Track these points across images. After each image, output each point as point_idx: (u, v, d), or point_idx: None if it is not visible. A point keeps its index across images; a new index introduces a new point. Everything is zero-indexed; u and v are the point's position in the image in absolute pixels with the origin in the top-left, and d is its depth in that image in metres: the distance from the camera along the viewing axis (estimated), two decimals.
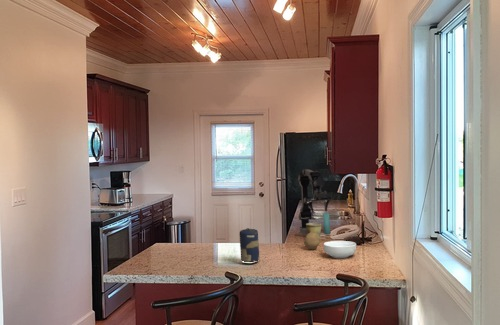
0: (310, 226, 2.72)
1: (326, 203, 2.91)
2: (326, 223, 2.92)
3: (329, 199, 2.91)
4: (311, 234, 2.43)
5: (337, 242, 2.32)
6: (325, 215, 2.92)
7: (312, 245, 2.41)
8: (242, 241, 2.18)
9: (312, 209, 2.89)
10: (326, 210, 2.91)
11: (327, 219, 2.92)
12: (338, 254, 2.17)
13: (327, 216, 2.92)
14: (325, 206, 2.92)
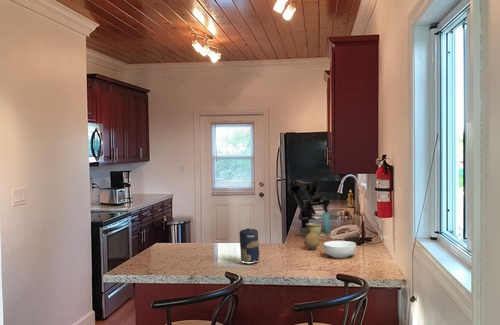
0: (310, 226, 2.72)
1: (325, 205, 3.04)
2: (326, 223, 2.92)
3: (327, 201, 3.05)
4: (311, 234, 2.43)
5: (337, 242, 2.32)
6: (325, 215, 2.92)
7: (312, 245, 2.41)
8: (242, 241, 2.18)
9: None
10: None
11: (327, 219, 2.92)
12: (338, 254, 2.17)
13: (327, 216, 2.92)
14: (325, 208, 3.04)
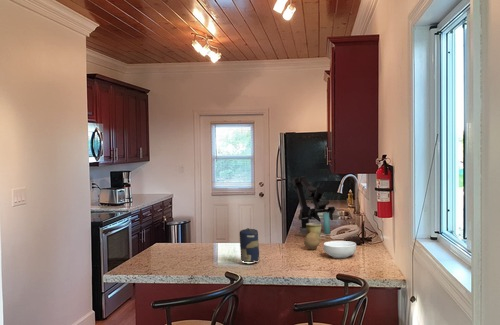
0: (310, 226, 2.72)
1: (330, 212, 2.98)
2: (326, 223, 2.92)
3: (332, 208, 2.99)
4: (311, 234, 2.43)
5: (337, 242, 2.32)
6: (325, 215, 2.92)
7: (312, 245, 2.41)
8: (242, 241, 2.18)
9: (319, 218, 2.93)
10: (332, 218, 2.95)
11: (327, 219, 2.92)
12: (338, 254, 2.17)
13: (327, 216, 2.92)
14: (330, 216, 2.97)
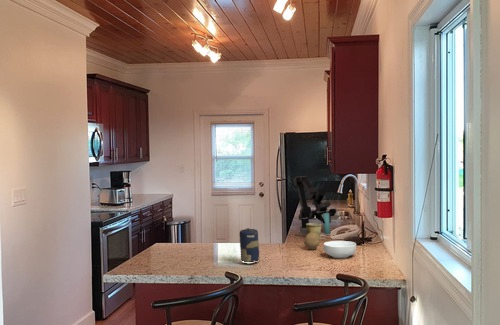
0: (310, 226, 2.72)
1: None
2: (326, 223, 2.92)
3: (333, 210, 2.97)
4: (311, 234, 2.43)
5: (337, 242, 2.32)
6: (325, 215, 2.92)
7: (312, 245, 2.41)
8: (242, 241, 2.18)
9: (323, 220, 2.92)
10: (330, 221, 2.93)
11: (327, 219, 2.92)
12: (338, 254, 2.17)
13: (327, 216, 2.92)
14: None
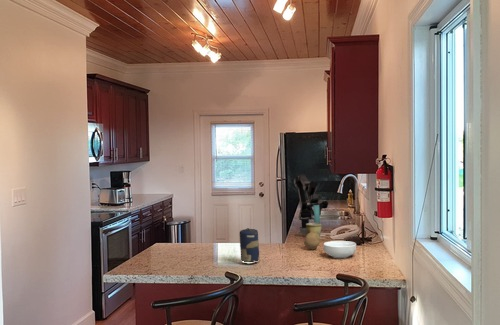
0: (310, 226, 2.72)
1: (319, 207, 2.95)
2: (316, 215, 2.92)
3: (325, 202, 2.96)
4: (311, 234, 2.43)
5: (337, 242, 2.32)
6: (315, 207, 2.92)
7: (312, 245, 2.41)
8: (242, 241, 2.18)
9: (313, 212, 2.92)
10: (320, 213, 2.92)
11: (317, 211, 2.92)
12: (338, 254, 2.17)
13: (317, 208, 2.92)
14: (319, 210, 2.95)
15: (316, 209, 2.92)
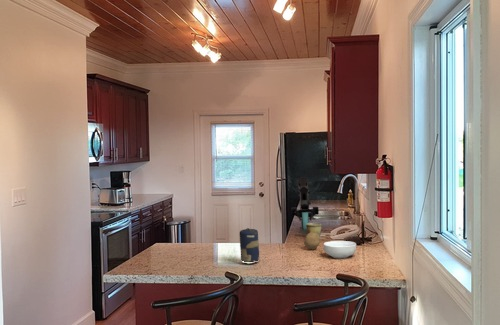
0: (310, 226, 2.72)
1: (311, 213, 2.96)
2: (304, 222, 2.94)
3: (315, 208, 2.96)
4: (311, 234, 2.43)
5: (337, 242, 2.32)
6: (303, 214, 2.94)
7: (312, 245, 2.41)
8: (242, 241, 2.18)
9: (299, 217, 2.95)
10: (310, 219, 2.93)
11: (305, 218, 2.93)
12: (338, 254, 2.17)
13: (305, 215, 2.93)
14: None
15: (304, 216, 2.94)
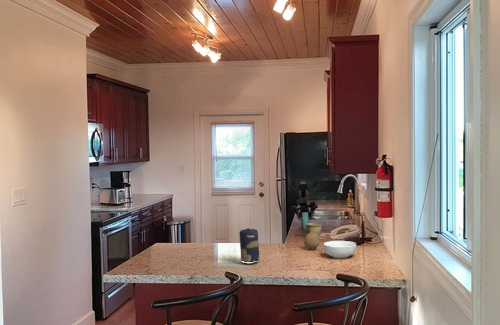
0: (310, 226, 2.72)
1: (310, 209, 3.04)
2: (304, 222, 2.94)
3: (312, 204, 3.03)
4: (311, 234, 2.43)
5: (337, 242, 2.32)
6: (303, 214, 2.94)
7: (312, 245, 2.41)
8: (242, 241, 2.18)
9: (297, 216, 3.06)
10: (310, 215, 3.02)
11: (305, 218, 2.93)
12: (338, 254, 2.17)
13: (305, 215, 2.93)
14: None
15: (304, 216, 2.93)
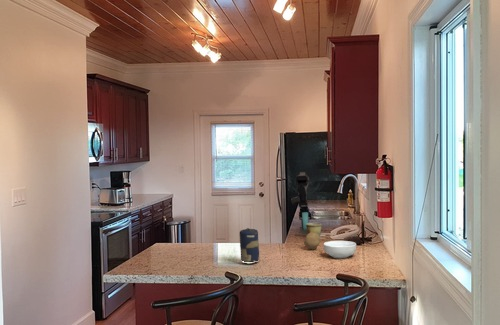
0: (310, 226, 2.72)
1: (301, 208, 3.03)
2: (304, 222, 2.94)
3: None
4: (311, 234, 2.43)
5: (337, 242, 2.32)
6: (303, 214, 2.94)
7: (312, 245, 2.41)
8: (242, 241, 2.18)
9: None
10: None
11: (305, 218, 2.93)
12: (338, 254, 2.17)
13: (305, 215, 2.93)
14: None
15: (304, 216, 2.93)
